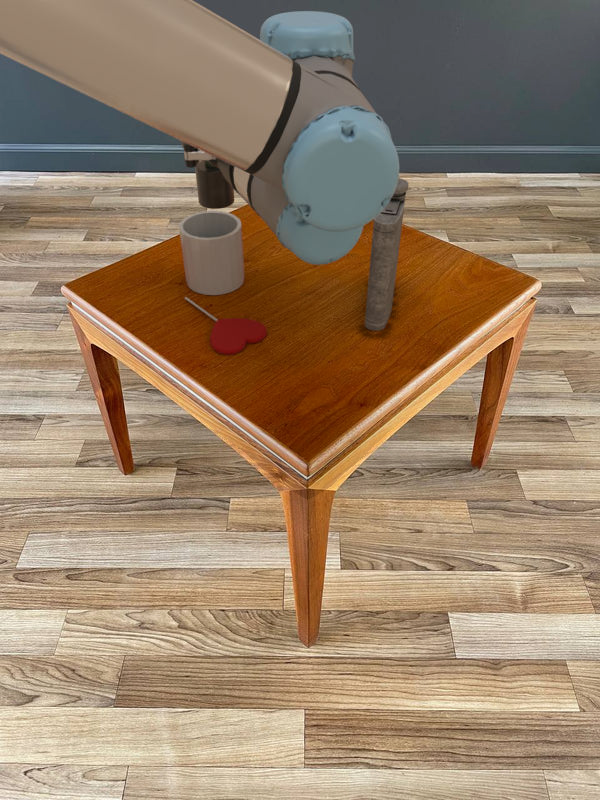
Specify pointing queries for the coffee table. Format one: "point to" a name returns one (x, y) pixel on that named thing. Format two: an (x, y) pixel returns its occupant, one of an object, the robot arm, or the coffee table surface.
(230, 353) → the lollipop
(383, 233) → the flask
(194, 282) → the canister
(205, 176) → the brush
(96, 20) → the robot arm
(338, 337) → the coffee table surface
